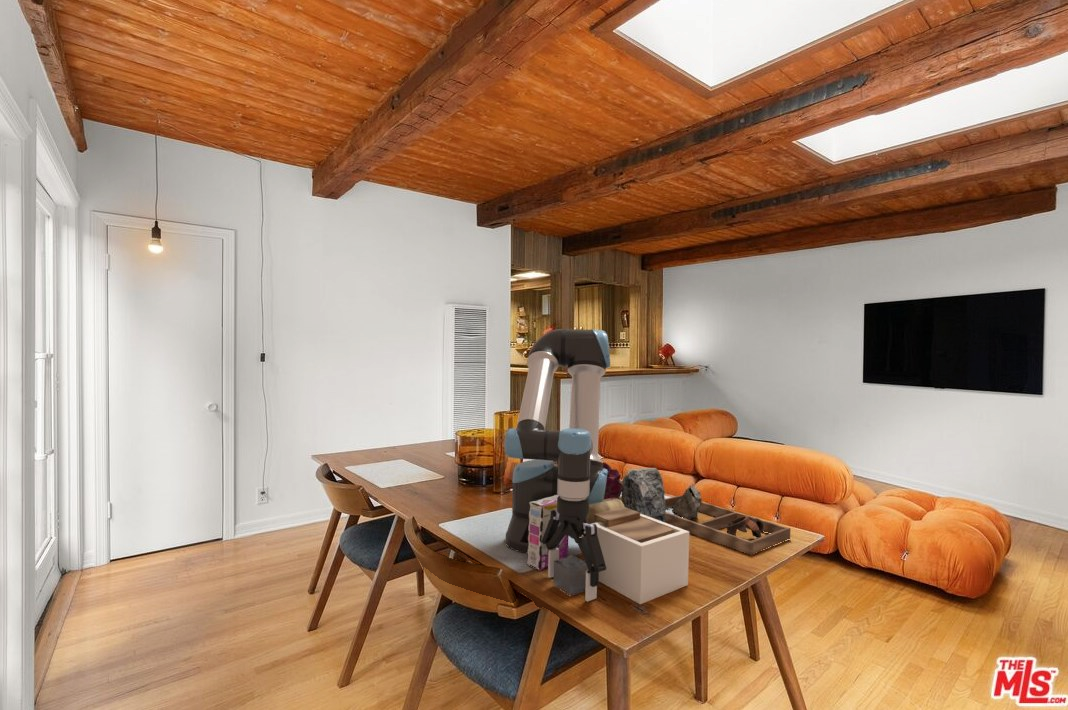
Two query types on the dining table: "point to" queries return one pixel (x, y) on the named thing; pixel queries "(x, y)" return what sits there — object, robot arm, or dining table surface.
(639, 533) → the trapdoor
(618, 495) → the flower arrangement
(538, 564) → the candy bar box
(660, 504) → the stone block
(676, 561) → the white open box
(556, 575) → the iron block
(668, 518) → the walnut tray
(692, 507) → the concrete fragment
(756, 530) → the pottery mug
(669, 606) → the dining table surface
